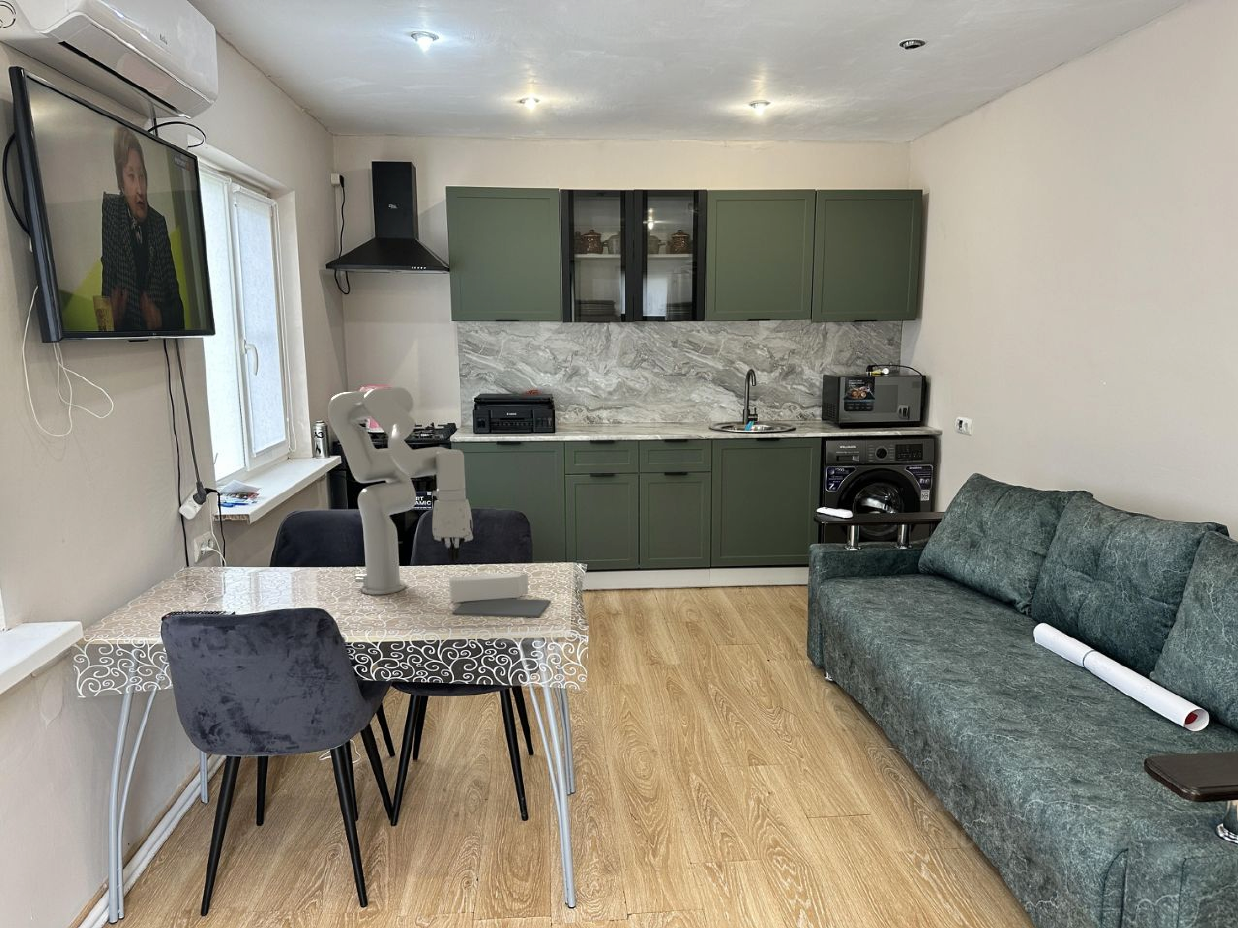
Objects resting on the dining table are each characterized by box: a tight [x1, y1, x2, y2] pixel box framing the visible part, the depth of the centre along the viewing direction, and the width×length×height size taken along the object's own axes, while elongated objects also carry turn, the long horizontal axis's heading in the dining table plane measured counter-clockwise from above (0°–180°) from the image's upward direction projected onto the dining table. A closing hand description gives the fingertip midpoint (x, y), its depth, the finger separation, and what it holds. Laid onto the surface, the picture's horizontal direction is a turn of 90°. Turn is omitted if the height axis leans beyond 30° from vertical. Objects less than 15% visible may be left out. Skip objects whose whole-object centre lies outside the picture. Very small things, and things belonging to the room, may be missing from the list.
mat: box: [451, 598, 551, 619], centre depth 215 cm, size 24×13×1 cm, turn 82°
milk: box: [448, 572, 529, 603], centre depth 223 cm, size 6×6×22 cm
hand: (454, 560), depth 215 cm, fingers closed
